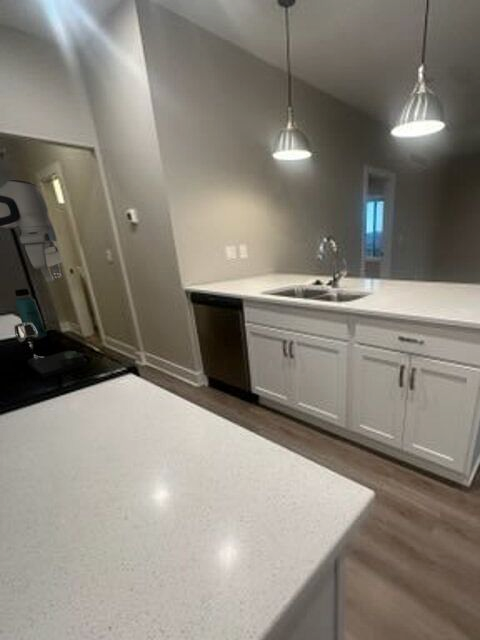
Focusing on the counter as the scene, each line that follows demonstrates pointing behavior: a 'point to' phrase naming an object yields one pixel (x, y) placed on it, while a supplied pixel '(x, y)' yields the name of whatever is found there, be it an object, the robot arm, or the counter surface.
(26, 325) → the wineglass
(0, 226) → the robot arm
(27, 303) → the beverage bottle
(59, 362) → the scale
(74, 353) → the tare button
